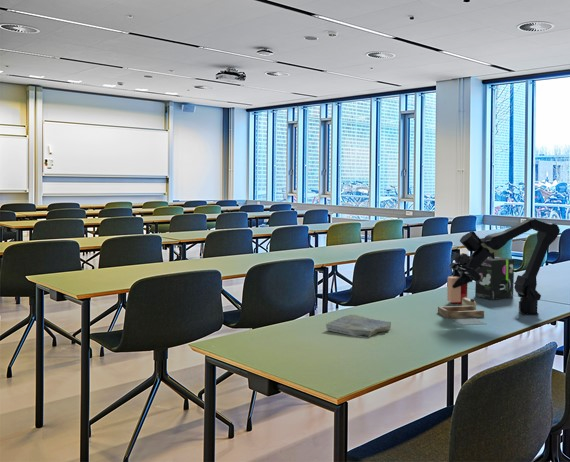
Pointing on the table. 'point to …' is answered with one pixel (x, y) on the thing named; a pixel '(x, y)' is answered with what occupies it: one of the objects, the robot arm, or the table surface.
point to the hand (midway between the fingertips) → (450, 286)
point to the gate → (468, 302)
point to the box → (496, 279)
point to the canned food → (462, 294)
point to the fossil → (358, 326)
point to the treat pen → (460, 312)
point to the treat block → (453, 290)
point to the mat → (468, 321)
